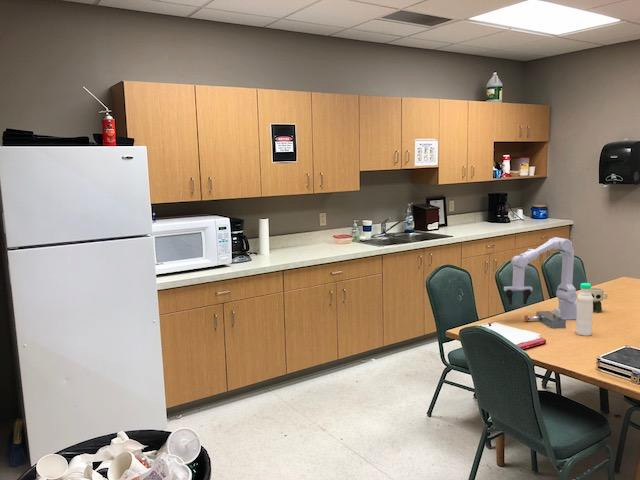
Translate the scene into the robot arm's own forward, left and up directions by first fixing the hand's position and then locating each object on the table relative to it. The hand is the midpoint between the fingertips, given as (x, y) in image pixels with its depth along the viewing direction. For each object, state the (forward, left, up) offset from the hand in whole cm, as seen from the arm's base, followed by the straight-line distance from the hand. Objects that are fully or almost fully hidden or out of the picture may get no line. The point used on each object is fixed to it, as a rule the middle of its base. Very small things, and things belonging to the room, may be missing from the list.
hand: (517, 304), depth 273 cm
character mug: (-50, -15, -10) cm, 54 cm away
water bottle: (-23, +23, -10) cm, 34 cm away
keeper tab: (-17, +8, -5) cm, 20 cm away
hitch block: (-16, +4, -10) cm, 19 cm away
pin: (-10, 0, -9) cm, 14 cm away
